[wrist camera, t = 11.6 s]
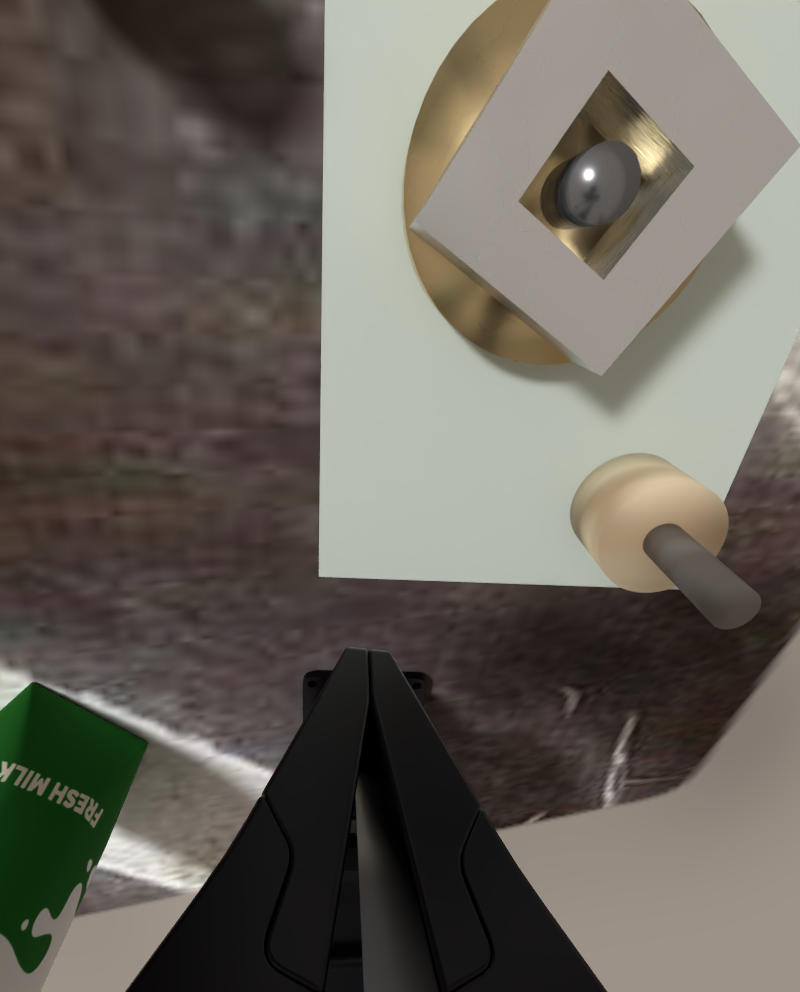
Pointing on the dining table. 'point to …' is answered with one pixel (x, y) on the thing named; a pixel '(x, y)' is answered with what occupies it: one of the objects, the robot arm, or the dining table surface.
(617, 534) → the stand
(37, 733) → the milk carton
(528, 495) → the mat
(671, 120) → the square ring
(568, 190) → the bell
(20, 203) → the dining table surface
